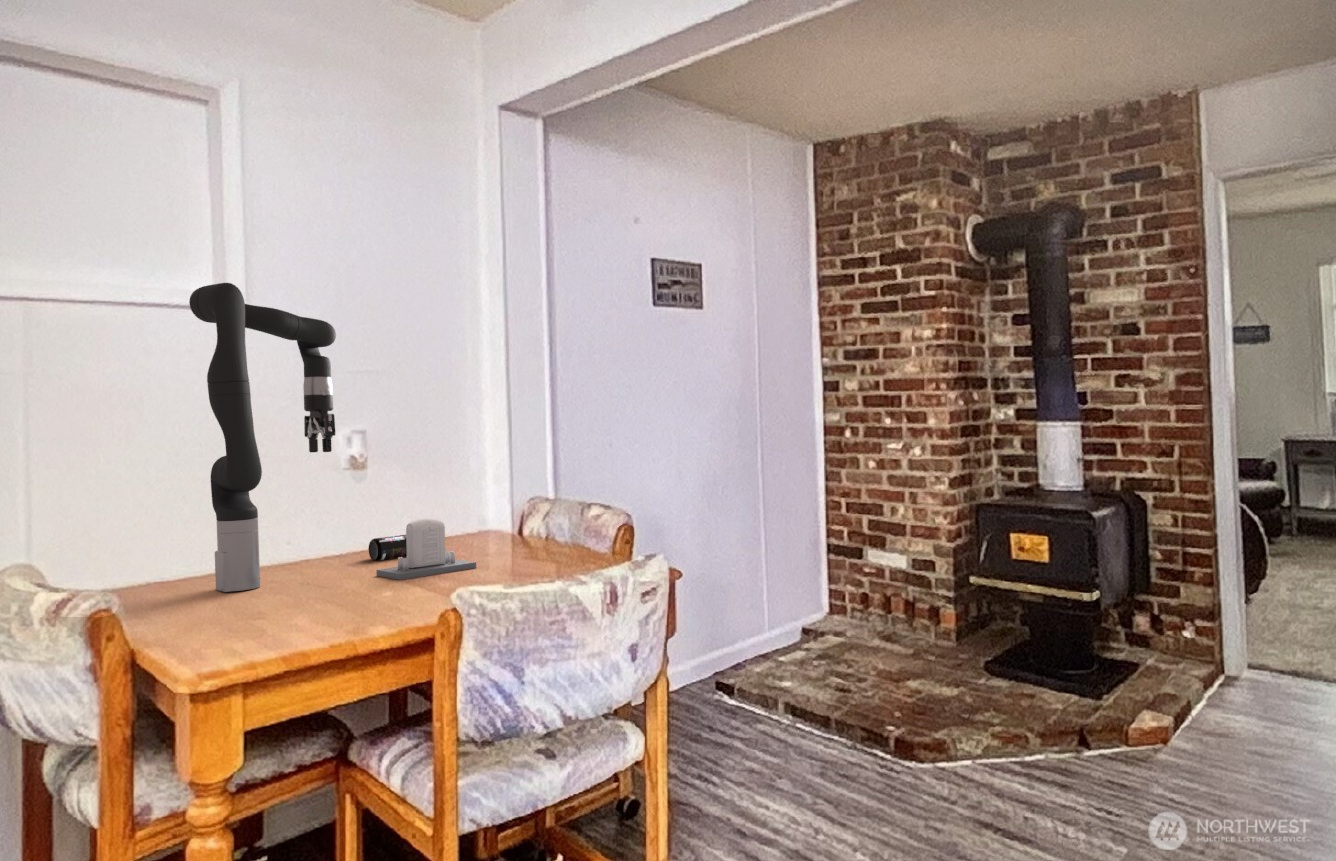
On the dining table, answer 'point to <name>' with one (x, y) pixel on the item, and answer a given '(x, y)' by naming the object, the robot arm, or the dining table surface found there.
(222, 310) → the robot arm
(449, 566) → the pin dock
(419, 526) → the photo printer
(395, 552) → the supplement container
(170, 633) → the dining table surface
